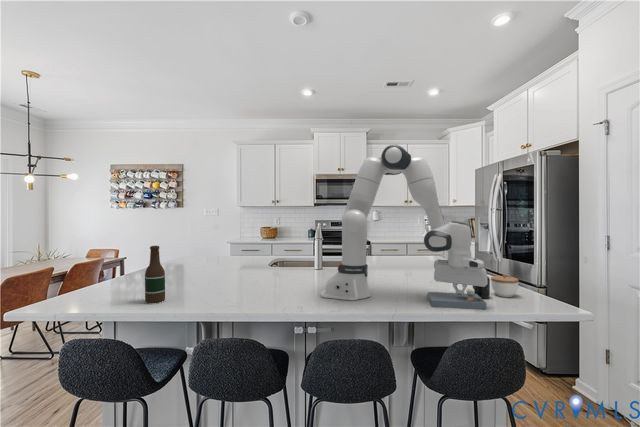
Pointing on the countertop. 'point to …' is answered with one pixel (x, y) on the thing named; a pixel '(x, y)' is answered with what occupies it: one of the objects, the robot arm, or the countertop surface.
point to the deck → (455, 300)
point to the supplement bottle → (483, 290)
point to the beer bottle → (154, 278)
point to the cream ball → (470, 291)
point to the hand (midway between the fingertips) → (459, 294)
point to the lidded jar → (504, 285)
